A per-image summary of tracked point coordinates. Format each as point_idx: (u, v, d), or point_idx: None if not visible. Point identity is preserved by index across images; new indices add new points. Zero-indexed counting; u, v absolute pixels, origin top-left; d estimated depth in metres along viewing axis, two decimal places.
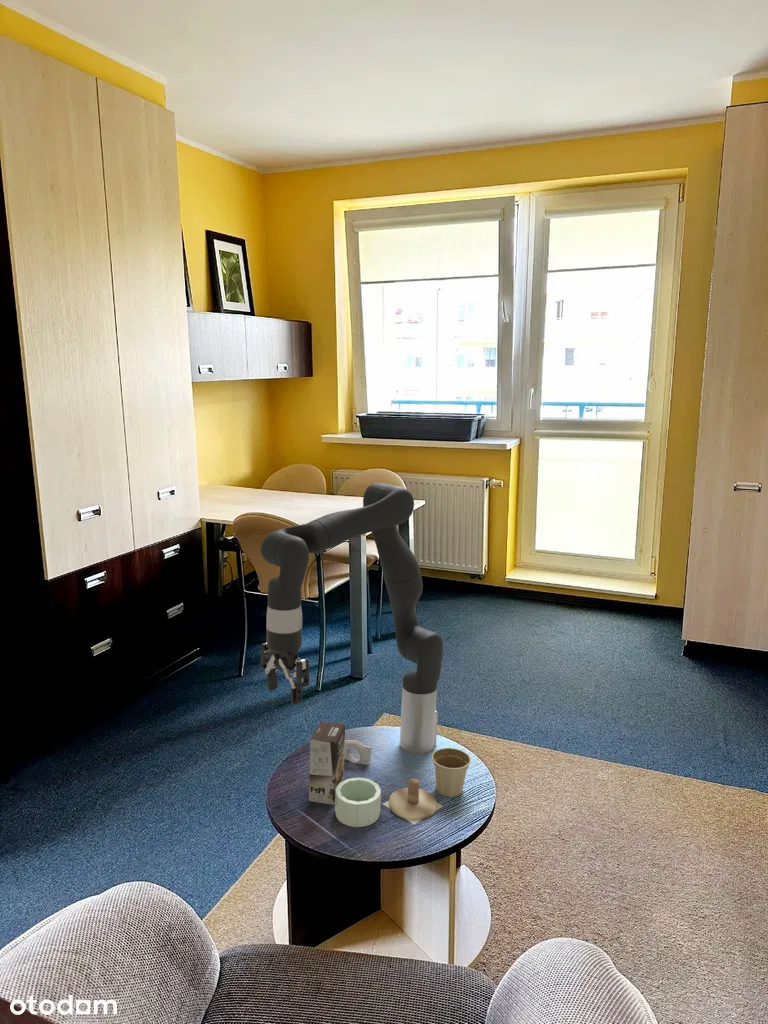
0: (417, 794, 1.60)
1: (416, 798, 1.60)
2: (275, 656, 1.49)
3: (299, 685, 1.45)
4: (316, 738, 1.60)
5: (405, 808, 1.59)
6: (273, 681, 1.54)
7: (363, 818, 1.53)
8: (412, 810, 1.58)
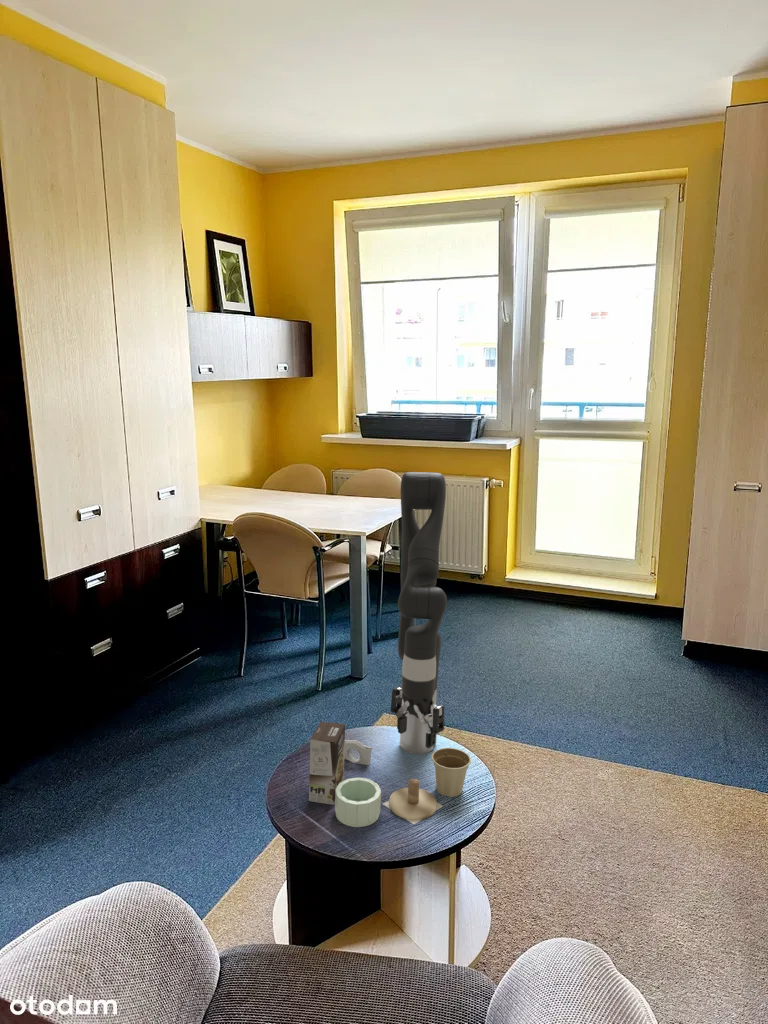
0: (417, 794, 1.60)
1: (416, 798, 1.60)
2: (409, 702, 1.56)
3: (436, 731, 1.52)
4: (316, 738, 1.60)
5: (405, 808, 1.59)
6: (403, 724, 1.61)
7: (363, 818, 1.53)
8: (412, 810, 1.58)
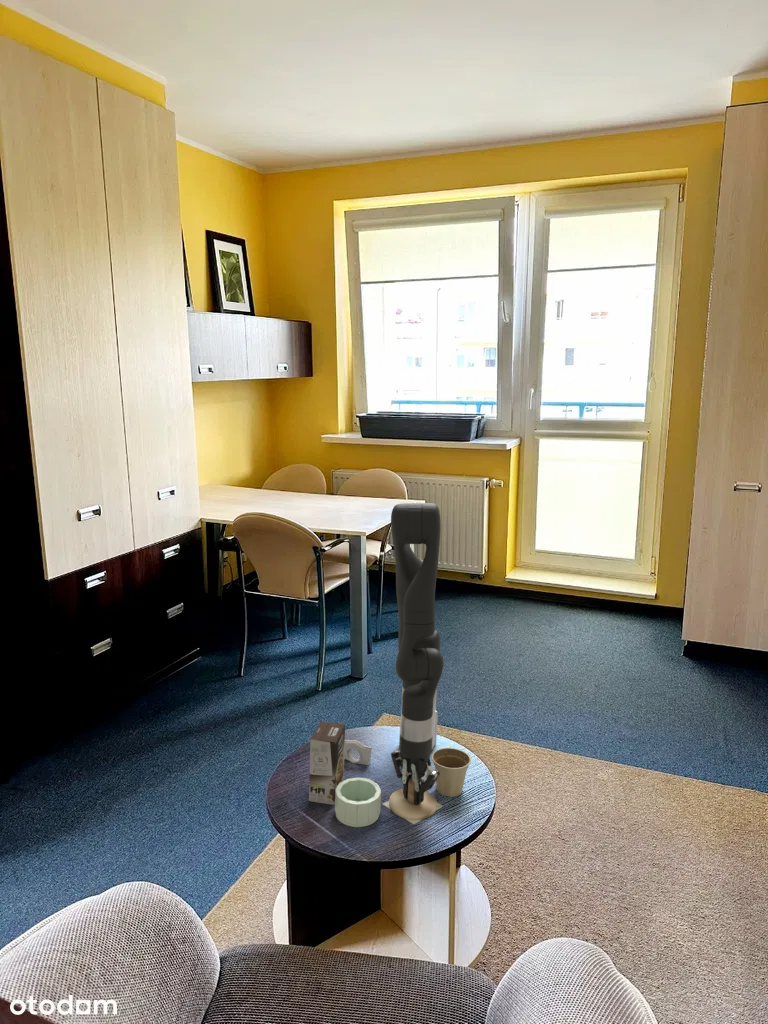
0: None
1: None
2: (406, 759, 1.59)
3: (424, 789, 1.57)
4: (316, 738, 1.60)
5: (405, 808, 1.59)
6: None
7: (363, 818, 1.53)
8: (412, 810, 1.58)
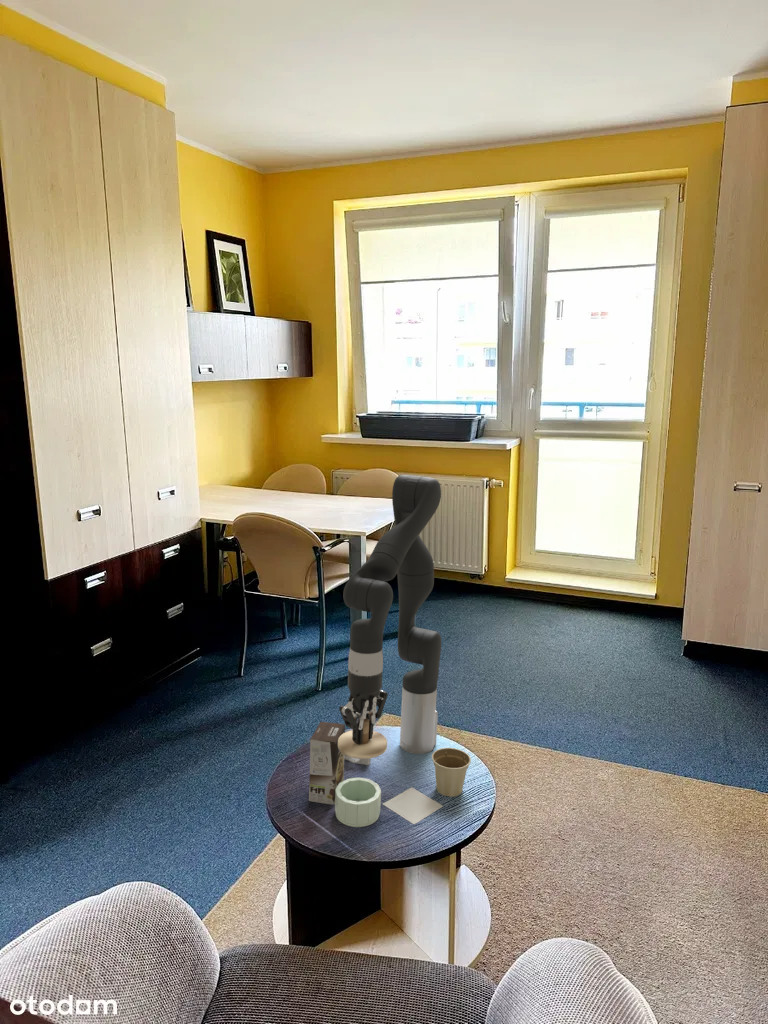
0: None
1: None
2: None
3: None
4: (316, 738, 1.60)
5: (349, 737, 1.56)
6: None
7: (363, 818, 1.53)
8: (346, 740, 1.55)
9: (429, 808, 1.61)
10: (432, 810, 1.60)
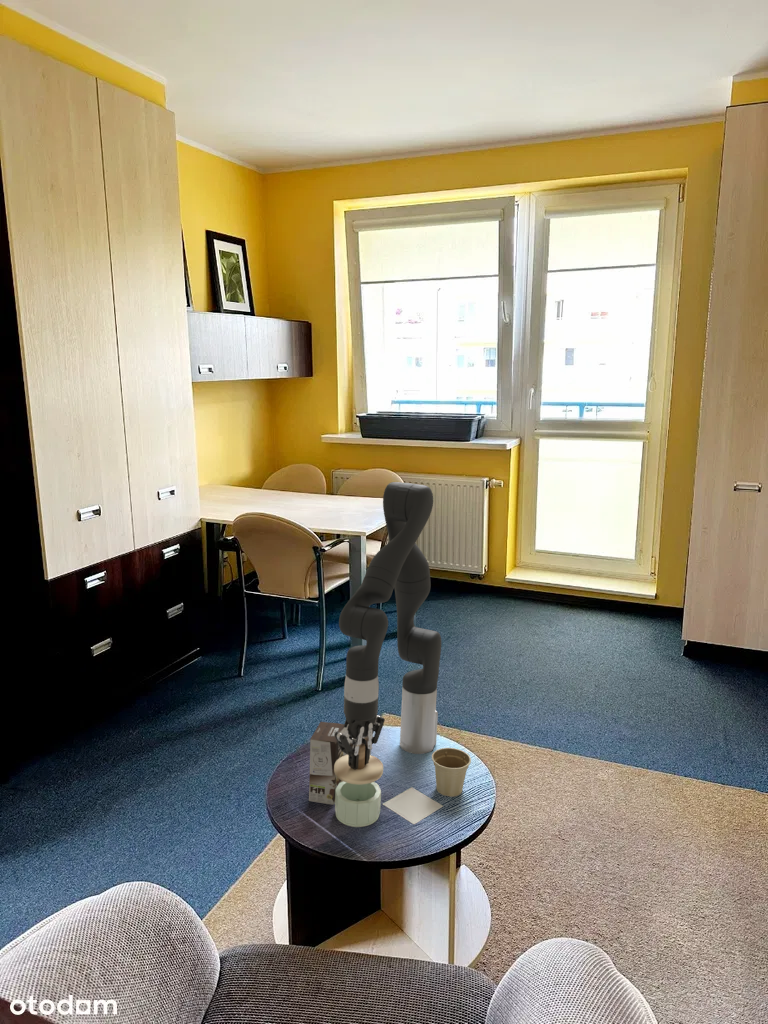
0: None
1: None
2: None
3: None
4: (316, 738, 1.60)
5: (346, 761, 1.58)
6: None
7: (363, 818, 1.53)
8: (343, 765, 1.56)
9: (429, 808, 1.61)
10: (432, 810, 1.60)
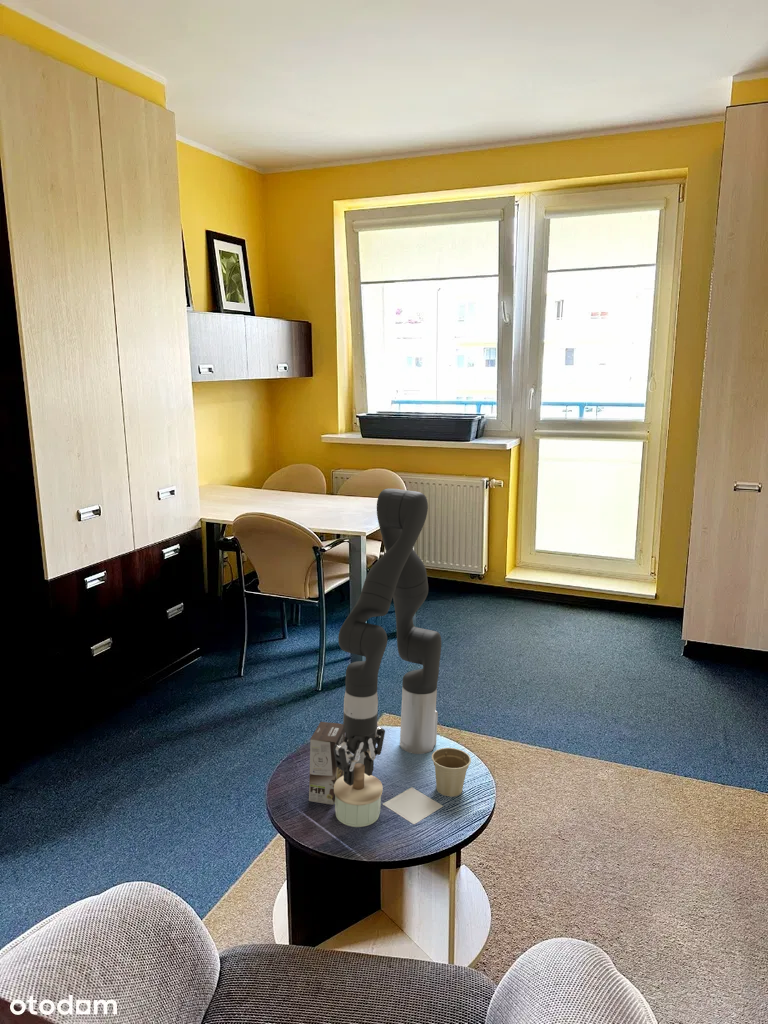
0: (354, 779, 1.56)
1: None
2: None
3: None
4: (316, 738, 1.60)
5: None
6: (367, 766, 1.58)
7: (363, 818, 1.53)
8: (342, 785, 1.57)
9: (429, 808, 1.61)
10: (432, 810, 1.60)
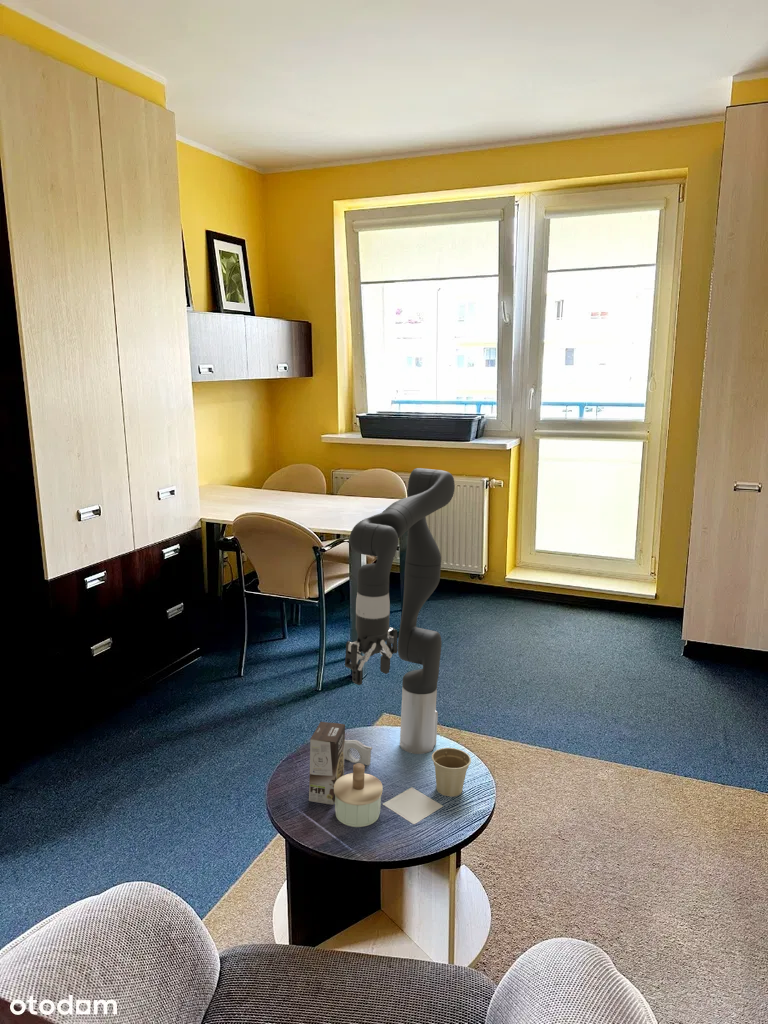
0: (354, 779, 1.56)
1: (353, 782, 1.56)
2: None
3: None
4: (316, 738, 1.60)
5: (346, 781, 1.59)
6: (383, 664, 1.61)
7: (363, 818, 1.53)
8: (342, 785, 1.57)
9: (429, 808, 1.61)
10: (432, 810, 1.60)
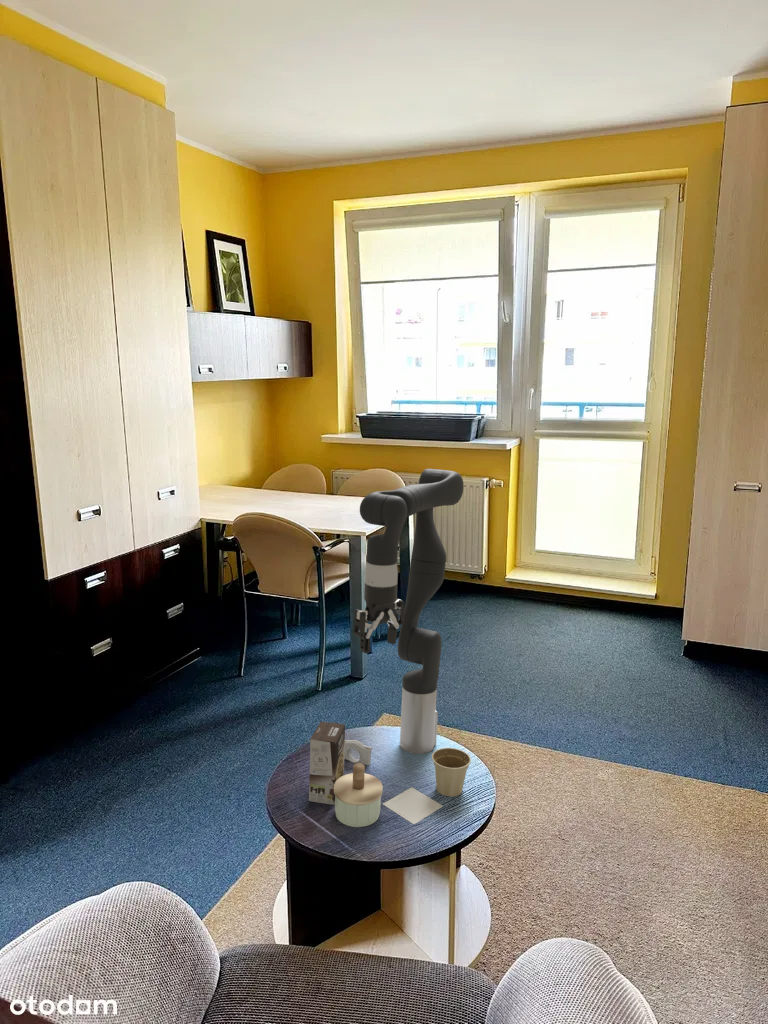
0: (354, 779, 1.56)
1: (353, 782, 1.56)
2: None
3: None
4: (316, 738, 1.60)
5: (346, 781, 1.59)
6: (391, 635, 1.64)
7: (363, 818, 1.53)
8: (342, 785, 1.57)
9: (429, 808, 1.61)
10: (432, 810, 1.60)
